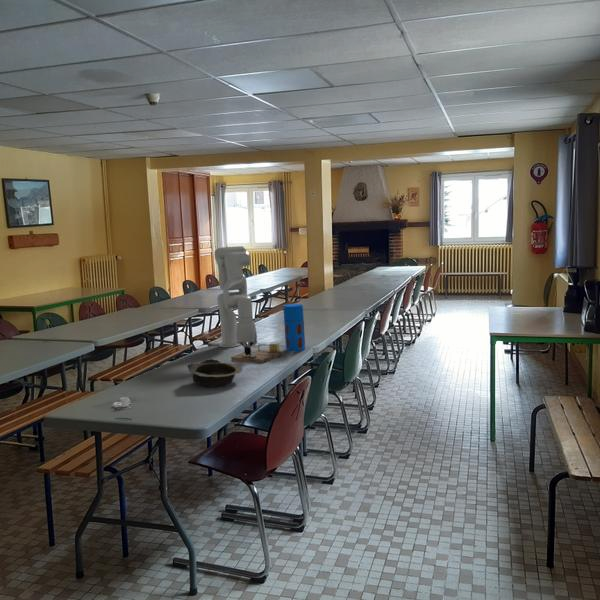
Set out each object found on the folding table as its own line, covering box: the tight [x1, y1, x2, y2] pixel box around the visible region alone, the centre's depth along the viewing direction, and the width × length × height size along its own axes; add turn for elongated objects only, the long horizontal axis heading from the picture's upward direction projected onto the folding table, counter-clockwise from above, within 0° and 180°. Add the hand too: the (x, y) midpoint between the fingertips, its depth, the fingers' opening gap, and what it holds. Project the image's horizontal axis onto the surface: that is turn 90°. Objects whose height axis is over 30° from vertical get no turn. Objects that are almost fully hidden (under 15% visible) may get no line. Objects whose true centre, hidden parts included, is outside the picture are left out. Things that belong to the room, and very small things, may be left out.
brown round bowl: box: [187, 358, 243, 388], centre depth 267 cm, size 25×25×9 cm
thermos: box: [283, 303, 306, 353], centre depth 328 cm, size 11×11×25 cm
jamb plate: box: [230, 349, 285, 365], centre depth 314 cm, size 20×20×2 cm
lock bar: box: [251, 342, 261, 357], centre depth 314 cm, size 17×4×4 cm, turn 179°
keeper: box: [268, 342, 280, 352], centre depth 318 cm, size 2×5×4 cm, turn 59°
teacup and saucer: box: [112, 396, 131, 408], centre depth 239 cm, size 9×8×4 cm
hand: (247, 354), depth 310 cm, fingers closed
